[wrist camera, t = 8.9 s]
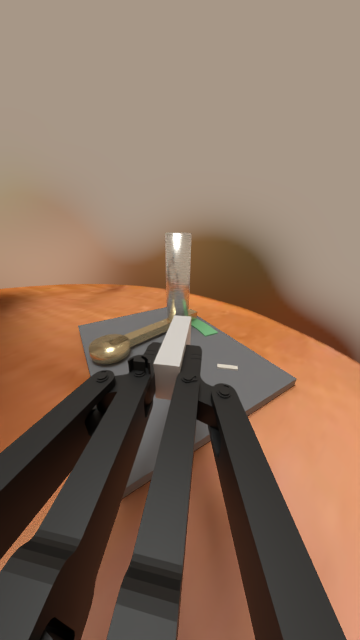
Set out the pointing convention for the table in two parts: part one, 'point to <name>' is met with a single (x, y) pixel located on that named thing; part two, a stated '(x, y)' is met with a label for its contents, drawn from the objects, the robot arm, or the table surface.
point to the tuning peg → (177, 304)
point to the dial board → (216, 367)
